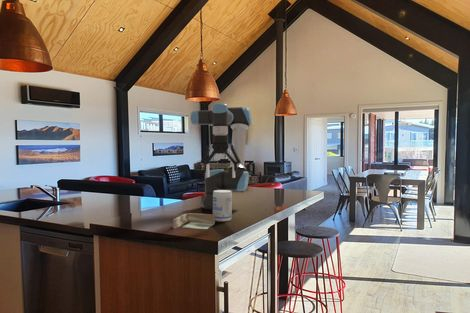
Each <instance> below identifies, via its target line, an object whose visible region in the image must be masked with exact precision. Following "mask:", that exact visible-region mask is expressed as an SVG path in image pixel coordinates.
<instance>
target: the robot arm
mask: <svg viewBox="0 0 470 313" xmlns="http://www.w3.org/2000/svg"><path fill="white" fill-rule="evenodd" d="M190 122H191V124H192V125H194V126H195V125H196V126H201V125H203V126H205V125H206V126H207V125H212V135H213V136H212V144H207V145H206V148H205V151H204V154H203V155H202V158H201V160H200V163H201V164H203V165H204V171H205V173H204V198H203V200H202V203H201V208H202V209H205V210H213V191H215V190H230V191H231V192H235V191H236V192H242V191H246V189H247V188H248V185H249V179H250V172H249V171H247V168H246V167H245V158H246V157H245V156H246V140H247V130H249V129H250V126H252V124H253V122H252V113H251V110H250V108H249V107H248V106H238V107H237V106H236V107H228V104H227V103H213V105H212V109H211V110H210V109H209V110H208V109H207V110H193V111H191V113H190ZM228 126H230V128H231V129H232V133H231V134H232V136H231V144H229V136H228V134H229V127H228ZM212 149H213V150H212ZM211 150H212V152H211V154H210V155H209V153H210V151H211ZM229 150H230V152H229ZM218 154H221V155H222V154H223V155H224V154H225V155H226V156H227V158H228V159H229V160H230V164H229V166H228V167H227V170H226V171H225V170H224V168H221V169H220V168H219V169H212V170H210V161H211V160H212V159H213V158H214V156H215V155H218Z"/></svg>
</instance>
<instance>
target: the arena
mask: <svg viewBox="0 0 470 313" xmlns="http://www.w3.org/2000/svg"><path fill="white" fill-rule="evenodd" d="M186 223H187V224H186ZM215 224H216V221H215V214H213V213H211V214H210V213H191V212H185V213H183V214H181V215H179V216H177V217H176V218H173V219H172V229H177V228H179V227H181V226H182V227H181V228H182V229H192V230H193V229H194V230H208V229H210V228H211V227H213V226H214V225H215Z"/></svg>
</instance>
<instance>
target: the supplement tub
mask: <svg viewBox="0 0 470 313" xmlns="http://www.w3.org/2000/svg"><path fill="white" fill-rule="evenodd" d="M232 192H233V191H230V190H215V191H213V209H212V214H215V222H229V221H231V220H232V211H233V210H232V207H233V206H232V205H233V204H232V202H233V201H232V199H233V196H232V195H233V193H232Z"/></svg>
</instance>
